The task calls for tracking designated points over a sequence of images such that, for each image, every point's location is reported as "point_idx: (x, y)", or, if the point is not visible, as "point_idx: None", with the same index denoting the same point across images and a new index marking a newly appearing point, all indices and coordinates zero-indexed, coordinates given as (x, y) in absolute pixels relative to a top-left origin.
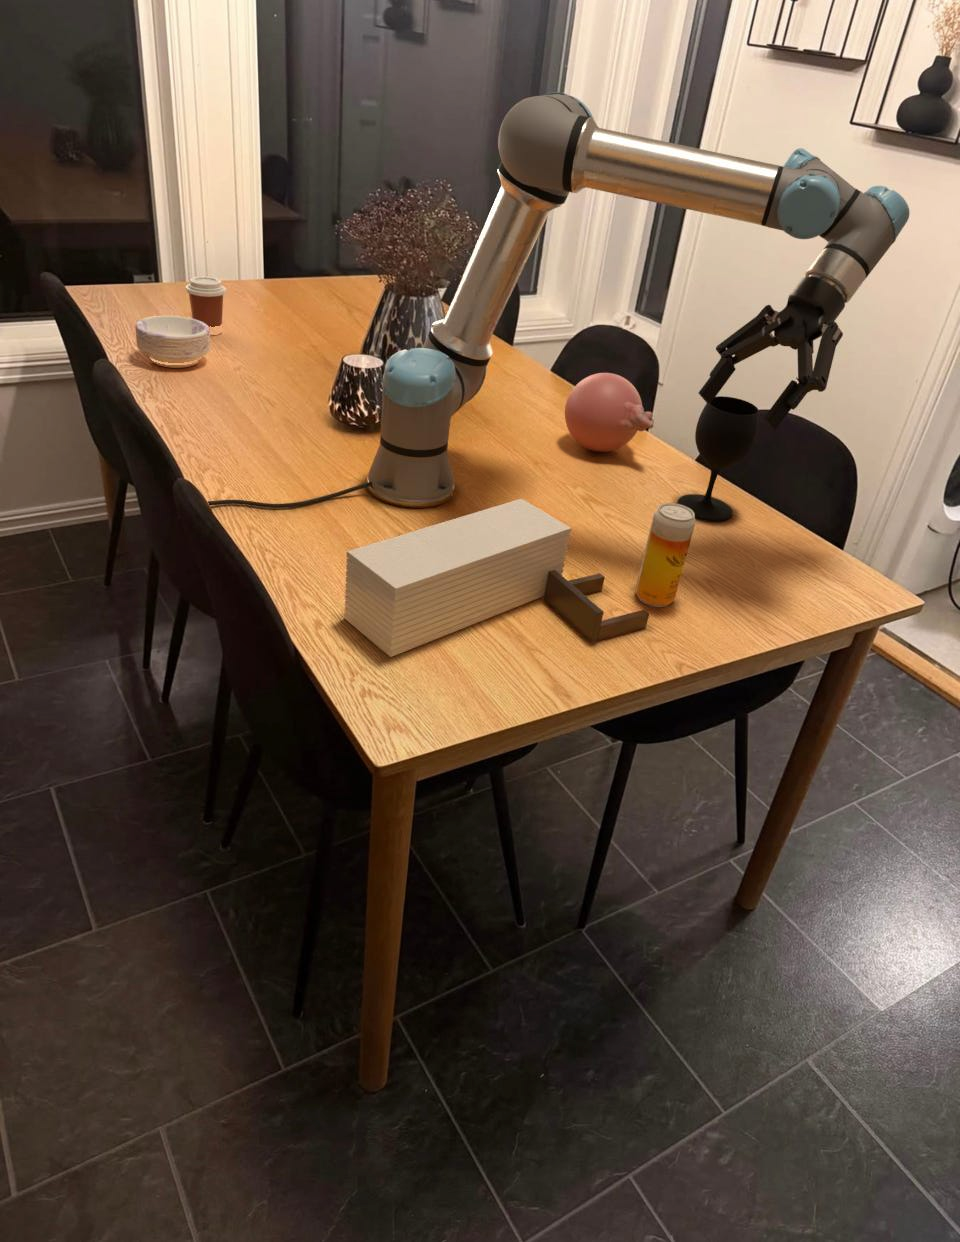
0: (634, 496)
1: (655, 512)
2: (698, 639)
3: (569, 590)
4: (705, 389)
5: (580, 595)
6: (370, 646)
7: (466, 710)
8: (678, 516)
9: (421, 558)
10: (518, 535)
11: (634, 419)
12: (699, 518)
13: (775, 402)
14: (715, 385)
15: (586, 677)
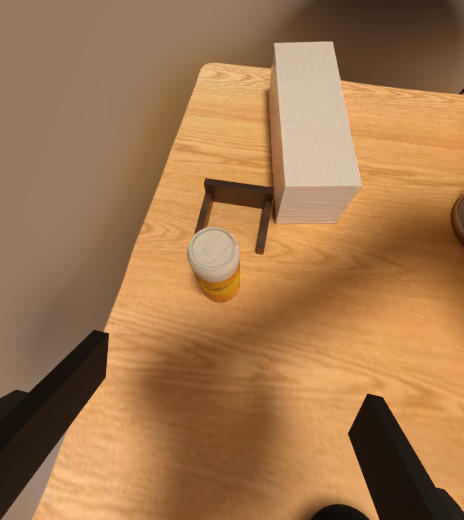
0: None
1: (233, 236)
2: (157, 267)
3: (242, 183)
4: (375, 411)
5: (231, 184)
6: None
7: (206, 103)
8: (204, 242)
9: (300, 69)
10: (296, 139)
11: None
12: (321, 510)
13: (71, 372)
14: (381, 466)
15: (183, 168)
